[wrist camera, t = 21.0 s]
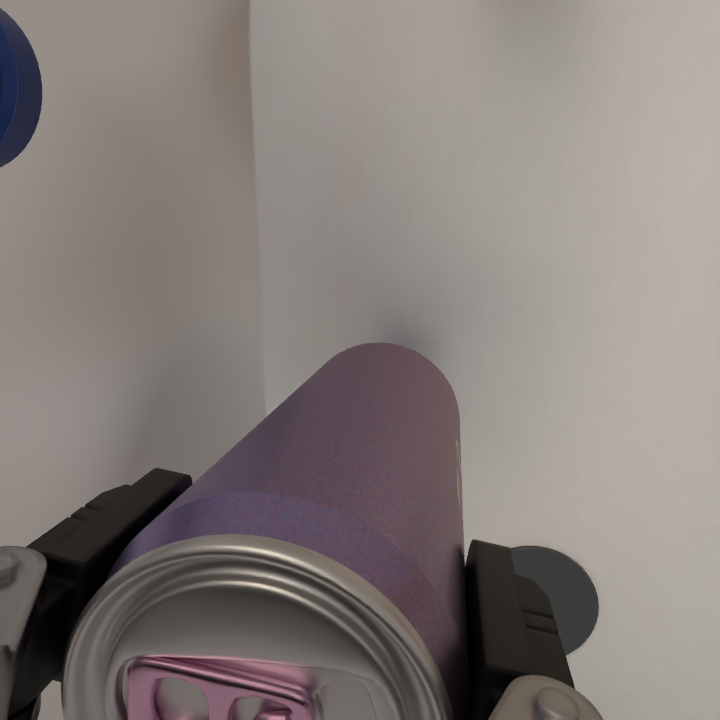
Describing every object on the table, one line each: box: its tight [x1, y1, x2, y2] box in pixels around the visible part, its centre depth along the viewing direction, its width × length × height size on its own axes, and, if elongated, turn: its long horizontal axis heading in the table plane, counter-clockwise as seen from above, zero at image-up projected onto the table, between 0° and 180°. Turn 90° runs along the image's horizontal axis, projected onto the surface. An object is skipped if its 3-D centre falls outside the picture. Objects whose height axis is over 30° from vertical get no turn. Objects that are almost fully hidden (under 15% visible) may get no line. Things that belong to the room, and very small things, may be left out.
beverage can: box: [61, 343, 469, 720], centre depth 15 cm, size 6×6×15 cm
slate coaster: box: [510, 546, 599, 656], centre depth 40 cm, size 9×9×1 cm
